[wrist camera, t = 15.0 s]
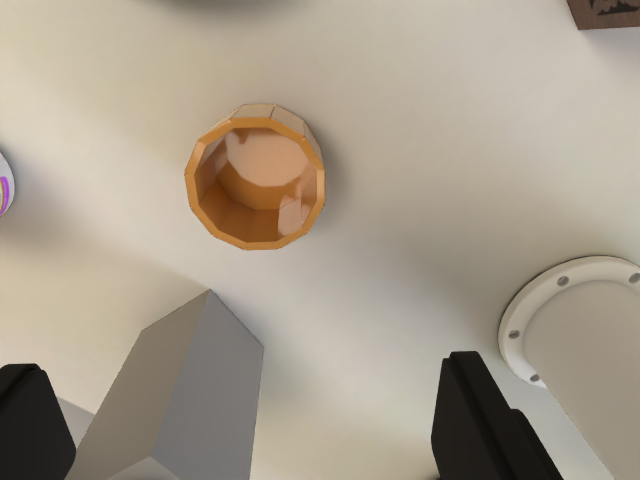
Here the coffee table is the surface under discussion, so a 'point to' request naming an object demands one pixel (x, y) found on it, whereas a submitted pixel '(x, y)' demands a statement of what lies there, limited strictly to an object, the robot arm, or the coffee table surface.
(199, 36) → the coffee table surface
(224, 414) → the perfume bottle
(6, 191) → the supplement bottle
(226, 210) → the small bowl
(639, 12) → the tissue box cover
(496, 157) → the coffee table surface
